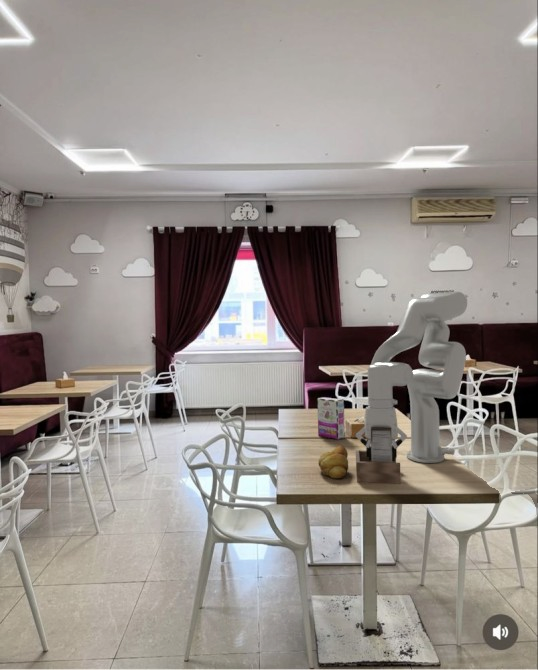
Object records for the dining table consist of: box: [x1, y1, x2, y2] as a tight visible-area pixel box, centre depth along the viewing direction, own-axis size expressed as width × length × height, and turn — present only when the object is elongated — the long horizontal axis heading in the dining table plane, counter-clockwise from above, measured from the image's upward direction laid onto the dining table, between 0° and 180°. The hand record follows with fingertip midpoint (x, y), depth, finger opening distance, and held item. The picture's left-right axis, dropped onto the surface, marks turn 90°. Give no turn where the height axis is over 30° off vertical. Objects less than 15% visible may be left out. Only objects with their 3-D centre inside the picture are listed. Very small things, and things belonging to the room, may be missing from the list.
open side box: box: [355, 449, 401, 484], centre depth 141 cm, size 13×13×6 cm
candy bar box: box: [317, 396, 346, 440], centre depth 190 cm, size 11×5×16 cm, turn 42°
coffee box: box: [370, 427, 392, 462], centre depth 141 cm, size 9×6×16 cm
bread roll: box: [317, 445, 349, 479], centre depth 144 cm, size 13×10×8 cm
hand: (381, 459), depth 141 cm, fingers closed on coffee box, 6 cm apart
